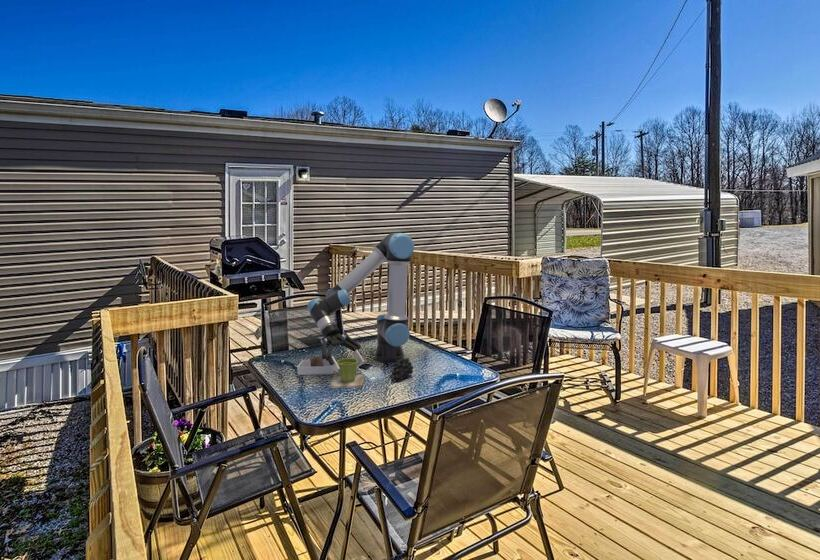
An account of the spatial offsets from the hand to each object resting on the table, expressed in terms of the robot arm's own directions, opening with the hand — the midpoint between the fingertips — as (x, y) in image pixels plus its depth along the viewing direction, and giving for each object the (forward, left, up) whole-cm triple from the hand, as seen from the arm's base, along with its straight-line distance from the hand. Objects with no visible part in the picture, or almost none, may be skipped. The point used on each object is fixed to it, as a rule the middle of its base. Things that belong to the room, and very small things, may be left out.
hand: (350, 366), depth 214 cm
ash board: (+2, -2, -8) cm, 8 cm away
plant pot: (+2, -2, -7) cm, 7 cm away
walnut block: (+18, -18, -7) cm, 26 cm away
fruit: (-21, -5, -8) cm, 23 cm away
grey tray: (+18, -18, -8) cm, 26 cm away
